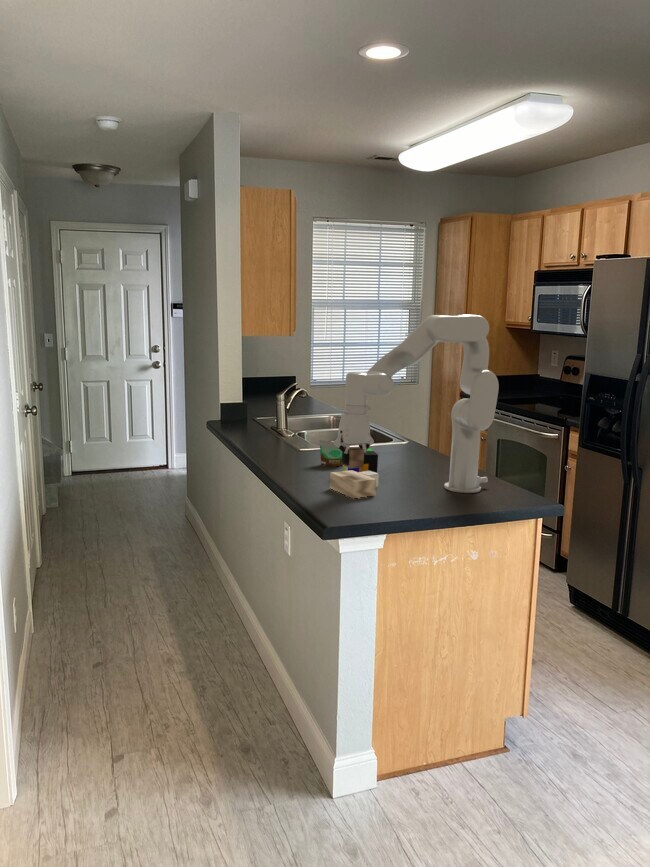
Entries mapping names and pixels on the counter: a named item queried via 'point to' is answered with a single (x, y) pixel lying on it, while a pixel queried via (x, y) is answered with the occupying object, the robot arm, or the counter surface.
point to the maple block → (353, 484)
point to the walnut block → (355, 457)
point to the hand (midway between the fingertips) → (353, 463)
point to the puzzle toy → (367, 462)
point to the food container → (330, 454)
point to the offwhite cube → (371, 475)
